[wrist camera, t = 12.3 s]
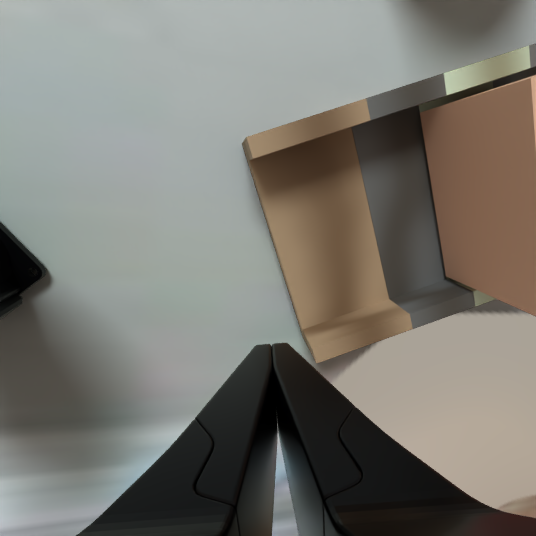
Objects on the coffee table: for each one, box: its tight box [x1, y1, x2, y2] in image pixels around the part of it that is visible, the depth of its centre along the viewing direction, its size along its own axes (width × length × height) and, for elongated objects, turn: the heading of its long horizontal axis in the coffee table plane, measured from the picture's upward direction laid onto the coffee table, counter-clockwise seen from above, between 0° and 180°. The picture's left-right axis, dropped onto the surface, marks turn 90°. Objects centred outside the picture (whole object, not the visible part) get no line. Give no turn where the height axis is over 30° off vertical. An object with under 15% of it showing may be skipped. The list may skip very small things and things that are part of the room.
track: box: [242, 44, 536, 363], centre depth 20 cm, size 19×13×4 cm
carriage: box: [420, 75, 536, 316], centre depth 17 cm, size 6×10×7 cm, turn 18°
